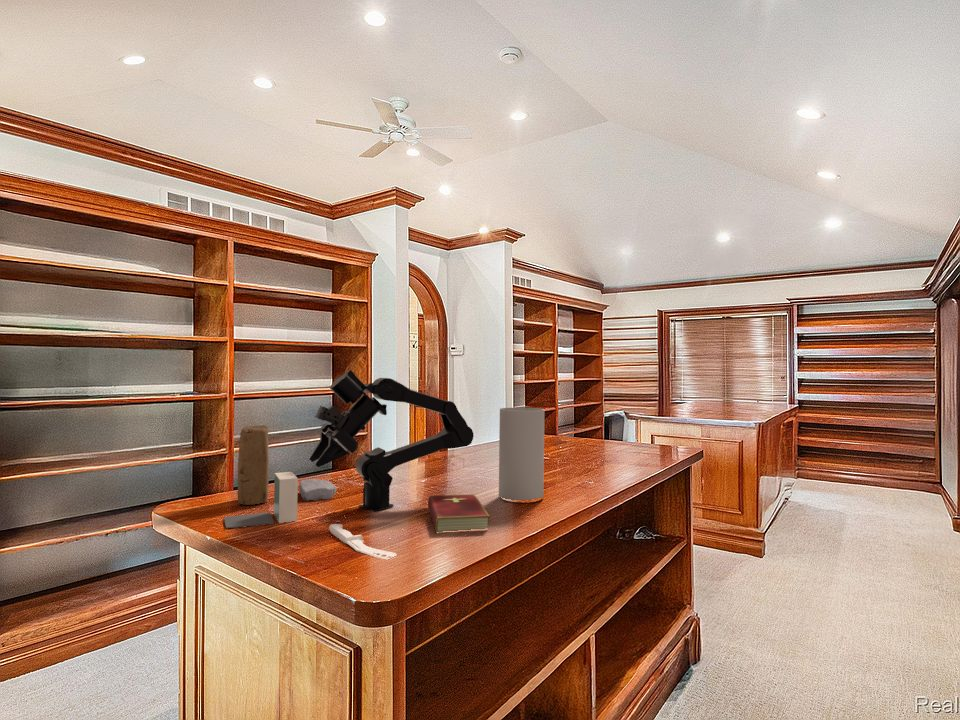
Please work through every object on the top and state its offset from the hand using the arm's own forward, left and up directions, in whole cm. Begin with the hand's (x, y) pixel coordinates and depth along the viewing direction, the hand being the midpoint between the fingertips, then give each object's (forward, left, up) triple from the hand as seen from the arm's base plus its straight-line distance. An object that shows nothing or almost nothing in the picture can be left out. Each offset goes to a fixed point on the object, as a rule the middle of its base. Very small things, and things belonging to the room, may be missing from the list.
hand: (313, 463), depth 134 cm
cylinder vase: (-31, -46, -13) cm, 57 cm away
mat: (+6, +13, -12) cm, 19 cm away
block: (+23, +2, -13) cm, 26 cm away
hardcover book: (-30, -18, -13) cm, 38 cm away
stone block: (+15, -13, -13) cm, 24 cm away
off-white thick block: (+3, +6, -12) cm, 14 cm away
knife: (-30, +8, -13) cm, 33 cm away
